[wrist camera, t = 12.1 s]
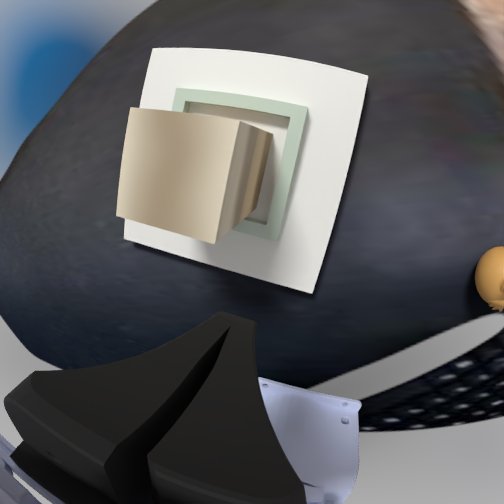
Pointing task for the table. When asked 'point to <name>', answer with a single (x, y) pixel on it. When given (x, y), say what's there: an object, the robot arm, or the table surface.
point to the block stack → (190, 172)
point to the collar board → (279, 158)
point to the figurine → (491, 277)
